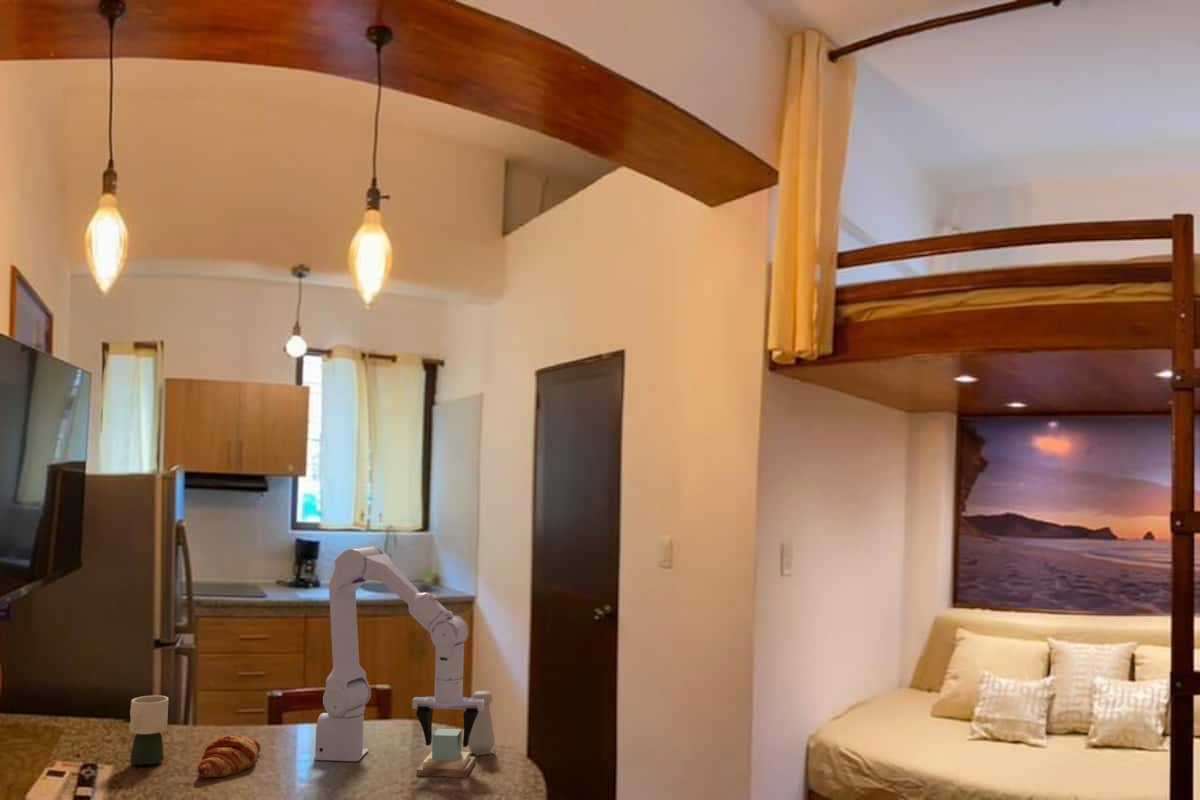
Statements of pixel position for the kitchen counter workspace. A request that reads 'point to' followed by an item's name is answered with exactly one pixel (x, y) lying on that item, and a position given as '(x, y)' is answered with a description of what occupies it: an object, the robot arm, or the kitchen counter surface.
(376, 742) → the kitchen counter surface
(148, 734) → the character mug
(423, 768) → the wooden base
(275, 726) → the kitchen counter surface
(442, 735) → the teal block
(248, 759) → the croissant
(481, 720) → the salt shaker
